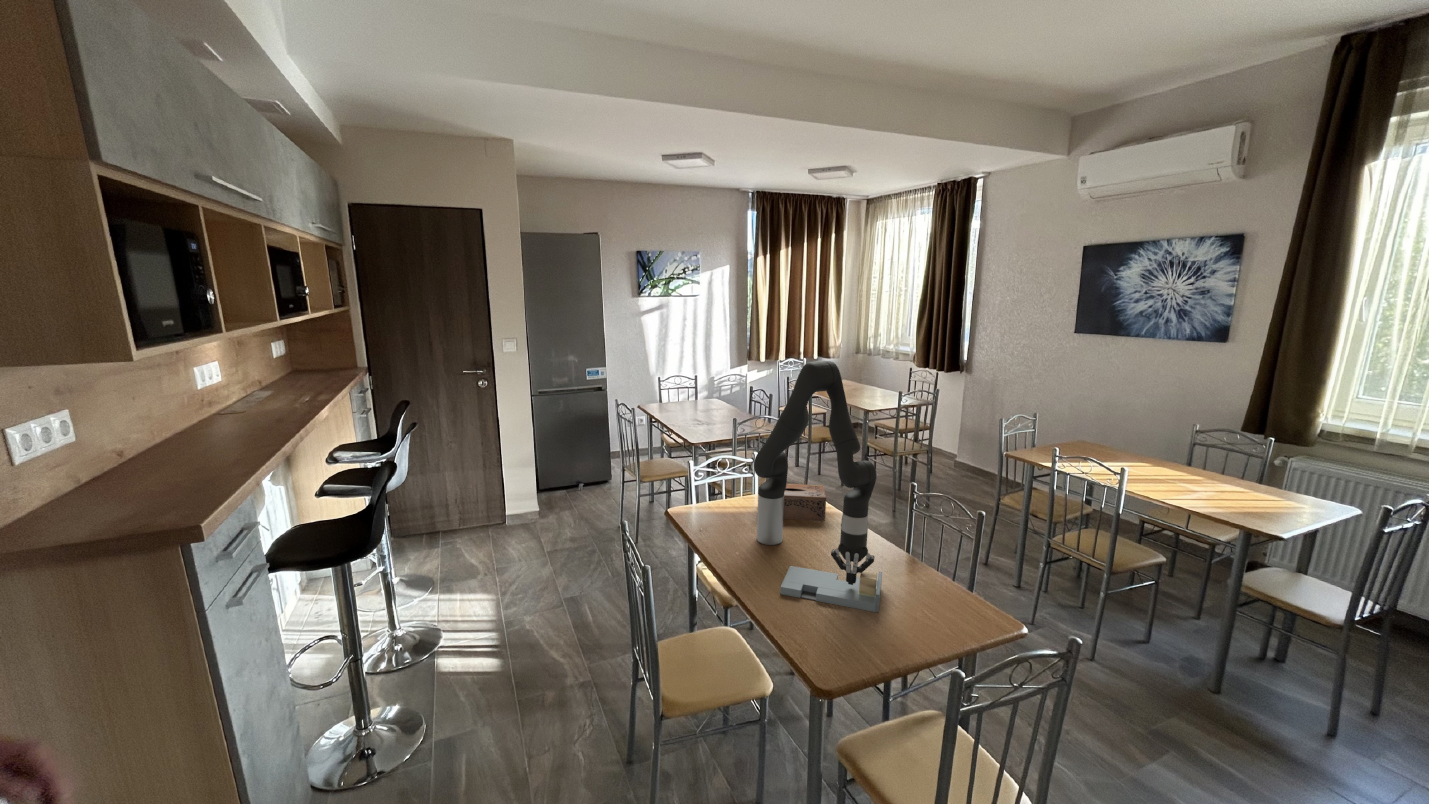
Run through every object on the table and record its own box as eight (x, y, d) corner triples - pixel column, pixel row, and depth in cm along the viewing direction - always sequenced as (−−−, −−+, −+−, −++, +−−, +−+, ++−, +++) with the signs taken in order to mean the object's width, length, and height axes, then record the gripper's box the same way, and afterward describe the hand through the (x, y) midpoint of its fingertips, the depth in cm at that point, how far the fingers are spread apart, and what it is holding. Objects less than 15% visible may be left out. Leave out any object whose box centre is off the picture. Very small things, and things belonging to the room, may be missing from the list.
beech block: (860, 585, 168) (861, 569, 167) (875, 588, 167) (877, 572, 166) (858, 592, 164) (859, 576, 163) (874, 595, 163) (876, 579, 162)
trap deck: (790, 572, 180) (790, 556, 179) (880, 588, 171) (882, 572, 170) (780, 594, 167) (780, 577, 166) (878, 612, 158) (879, 594, 157)
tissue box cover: (759, 518, 224) (760, 494, 223) (760, 504, 239) (760, 482, 237) (824, 521, 222) (826, 497, 220) (821, 508, 236) (823, 485, 234)
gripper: (878, 526, 165) (874, 581, 168) (833, 520, 169) (830, 573, 172) (877, 536, 158) (873, 593, 161) (829, 529, 162) (826, 585, 165)
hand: (850, 583), depth 167 cm, fingers closed
